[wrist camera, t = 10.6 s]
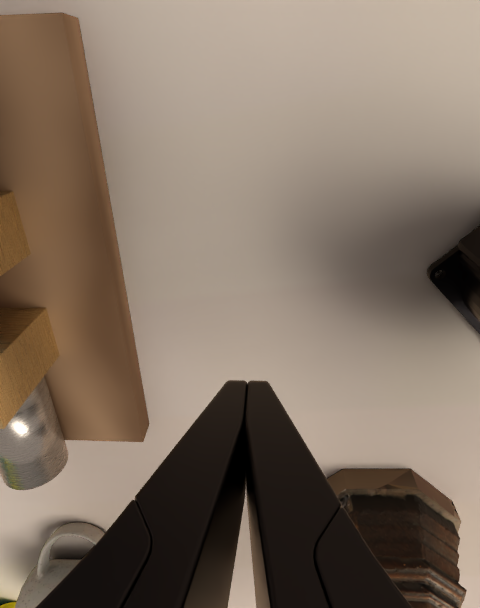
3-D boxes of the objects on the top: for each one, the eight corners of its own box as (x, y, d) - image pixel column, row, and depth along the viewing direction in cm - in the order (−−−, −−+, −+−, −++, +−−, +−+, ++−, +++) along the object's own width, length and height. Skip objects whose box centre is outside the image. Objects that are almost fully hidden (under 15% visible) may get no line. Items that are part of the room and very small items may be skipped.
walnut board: (78, 18, 17) (62, 13, 15) (149, 424, 27) (143, 441, 26) (-200, 29, 17) (-238, 25, 16) (-27, 419, 28) (-41, 436, 27)
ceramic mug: (152, 589, 37) (128, 698, 30) (69, 590, 38) (27, 696, 31) (123, 514, 32) (86, 623, 26) (28, 517, 33) (-31, 623, 27)
